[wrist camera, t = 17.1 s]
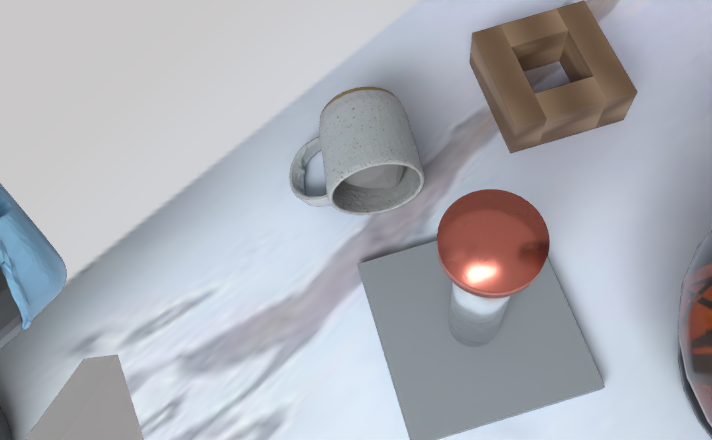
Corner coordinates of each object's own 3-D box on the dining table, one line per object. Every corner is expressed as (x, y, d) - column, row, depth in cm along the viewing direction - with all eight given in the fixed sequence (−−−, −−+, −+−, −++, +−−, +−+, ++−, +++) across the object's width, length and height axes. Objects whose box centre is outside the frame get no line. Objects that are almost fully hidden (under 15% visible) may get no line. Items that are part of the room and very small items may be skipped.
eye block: (510, 153, 54) (516, 127, 51) (469, 62, 58) (472, 32, 55) (623, 119, 54) (637, 91, 51) (574, 32, 59) (584, 0, 55)
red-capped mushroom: (449, 370, 46) (458, 305, 32) (424, 299, 49) (422, 207, 34) (523, 347, 46) (567, 272, 32) (495, 277, 49) (524, 176, 34)
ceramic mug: (404, 122, 57) (398, 67, 50) (426, 203, 53) (424, 156, 46) (286, 150, 57) (265, 99, 50) (301, 233, 53) (280, 191, 46)
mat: (412, 447, 45) (411, 445, 44) (358, 268, 51) (357, 264, 50) (601, 389, 46) (604, 386, 45) (526, 218, 52) (528, 213, 51)
